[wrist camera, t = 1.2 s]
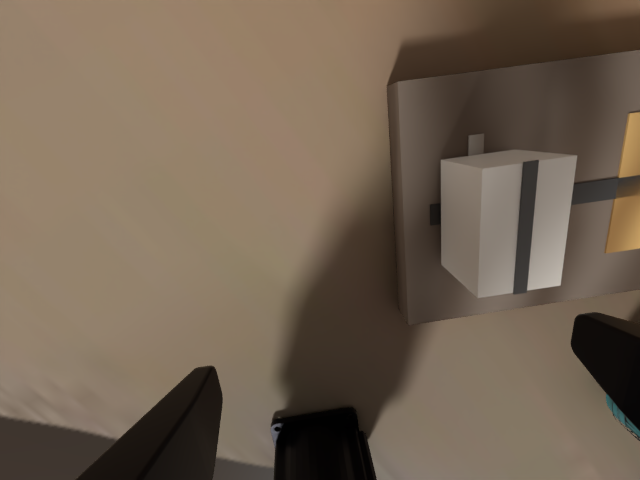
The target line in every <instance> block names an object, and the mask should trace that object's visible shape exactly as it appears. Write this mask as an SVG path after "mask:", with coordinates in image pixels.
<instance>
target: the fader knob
mask: <svg viewBox="0 0 640 480" xmlns="http://www.w3.org/2000/svg"><path fill="white" fill-rule="evenodd" d="M576 162H577V155H568V154H558V153H547V152H537V151H526V150H516V149H515V150H508V151H500V152H493V153H486V154H479V155H472V156H464V157H457V158H450V159H443V160H441V265H442V266H443V267H444V268H445V269H447V270H448V271H449V272H450V273H451V274H452V275H453V276H454V277H455V278H456V279H457V280H458V281H460V282H461V283H462V284H463V285H464V286H465V287H466V288H467V289H468V290H469V291H470V292H471V293H473V294H474V295H475V296H476V297H477V298H482V297H489V296H495V295H502V294H508V293H513V294H514V295H516V294H523V293H527V291H528V290H535V289H541V288H548V287H554V286H560V285H561V278H562V270H563V262H564V254H565V247H566V239H567V231H568V223H569V216H570V208H571V200H572V193H573V185H574V177H575V169H576Z"/></svg>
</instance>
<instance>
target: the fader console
mask: <svg viewBox="0 0 640 480" xmlns="http://www.w3.org/2000/svg"><path fill="white" fill-rule="evenodd" d="M387 100H388V119H389V137H390V156H391V174H392V193H393V211H394V230H395V248H396V267H397V285H398V304H399V310H400V312H401V314H402V315H403V317H404V319H405V320H406V322H407V324H408V325H414V324H420V323H427V322H433V321H440V320H446V319H453V318H459V317H466V316H472V315H478V314H485V313H491V312H498V311H504V310H511V309H517V308H524V307H530V306H537V305H543V304H549V303H556V302H562V301H569V300H575V299H582V298H588V297H595V296H601V295H608V294H614V293H620V292H627V291H633V290H640V50H634V51H627V52H619V53H612V54H604V55H596V56H589V57H581V58H574V59H566V60H558V61H551V62H543V63H535V64H528V65H520V66H513V67H505V68H497V69H490V70H482V71H475V72H467V73H459V74H452V75H444V76H436V77H429V78H421V79H414V80H406V81H398V82H396V83H393V84H391V85H389V86H387ZM515 149H516V150H526V151H537V152H547V153H558V154H568V155H577V162H576V169H575V177H574V185H573V193H572V200H571V208H570V216H569V223H568V231H567V239H566V247H565V254H564V262H563V270H562V278H561V285H560V286H554V287H548V288H541V289H535V290H528V291H527V293H523V294H516V295H514V294H513V293H508V294H502V295H495V296H489V297H482V298H477V297H476V296H475V295H474V294H473V293H471V292H470V291H469V290H468V289H467V288H466V287H465V286H464V285H463V284H462V283H461V282H460V281H458V280H457V279H456V278H455V277H454V276H453V275H452V274H451V273H450V272H449V271H448V270H447V269H445V268H444V267H443V266H442V265H441V160H443V159H450V158H457V157H464V156H472V155H479V154H486V153H493V152H500V151H508V150H515Z"/></svg>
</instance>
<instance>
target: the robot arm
mask: <svg viewBox="0 0 640 480" xmlns="http://www.w3.org/2000/svg"><path fill="white" fill-rule="evenodd" d="M571 347H572V350H573V352H574V353H575V355H576V356H577V357H578V359H579V360H580V361H581V362H582V364H583V365H584V366H585V367H586V369H587V370H588V371H589V372H590V374H591V375H592V376H593V377H594V379H595V380H596V381H597V382H598V384H599V385H600V386H601V387H602V389H603V390H604V391H605V392H606V394H607V395H608V396H609V397H610V399H611V400H612V401H613V402H614V403H615V405H616V406H617V407H618V408H619V409H620V411H621V412H622V413H623V414H624V415H625V416H626V417H627V418H628V420H629V421H630V422H631V423H632V424H633V425H634V426H635V427H636V428H637V429H638V430H639V431H640V324H638V323H634V322H631V321H627V320H623V319H620V318H616V317H612V316H609V315H605V314H601V313H597V312H592V313H585V314H579V315H578V316H577V317H576V318H575V320H574V326H573V332H572V338H571ZM222 403H223V398H222V391H221V387H220V383H219V379H218V375H217V372H216V369H215V367H214V366H204V367H198V368H195V369H194V370H193V371H192V372H191V373H190V374H188V375H187V376H186V377H185V378H184V379H183V380H182V381H181V382H180V383H179V384H178V385H177V386H176V387H174V388H173V389H172V390H171V391H170V392H169V393H168V394H167V395H166V396H165V397H164V398H163V399H162V400H160V401H159V402H158V403H157V404H156V405H155V406H154V407H153V408H152V409H151V410H150V411H149V412H147V413H146V414H145V415H144V416H143V417H142V418H141V419H140V420H139V421H138V422H137V423H136V424H135V425H133V426H132V427H131V428H130V429H129V430H128V431H127V432H126V433H125V434H124V435H123V436H122V437H121V438H119V439H118V440H117V441H116V442H115V443H114V444H113V445H112V446H111V447H110V448H109V449H108V450H107V451H105V452H104V453H103V454H102V455H101V456H100V457H99V458H98V459H97V460H96V461H95V462H94V463H93V464H91V465H90V466H89V467H88V468H87V469H86V470H85V471H84V472H83V473H82V474H81V475H80V476H79V477H77V478H76V479H75V480H212V478H213V474H214V467H215V460H216V452H217V444H218V436H219V428H220V419H221V411H222ZM271 433H272V437H273V442H274V446H275V463H274V480H377V479H376V475H375V470H374V466H373V462H372V458H371V454H370V449H369V445H368V441H367V437H366V433H364V432H363V431H359V428H358V419H357V413H356V410H355V409H354V408H345V409H338V410H332V411H326V412H320V413H314V414H308V415H301V416H295V417H289V418H283V419H277V420H274V421H273V422H272V423H271Z"/></svg>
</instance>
